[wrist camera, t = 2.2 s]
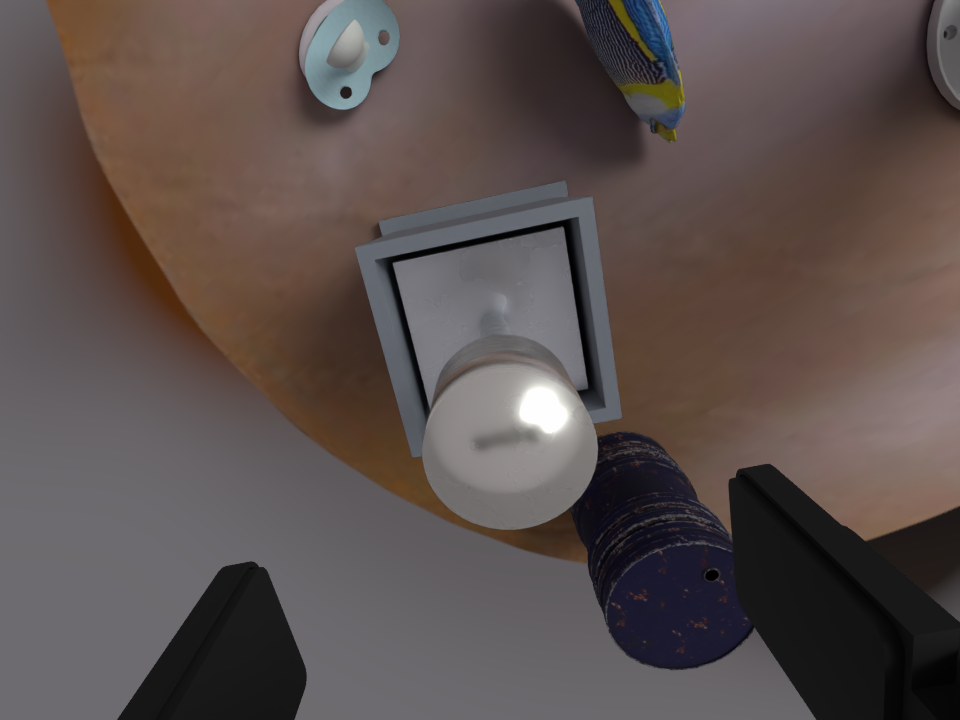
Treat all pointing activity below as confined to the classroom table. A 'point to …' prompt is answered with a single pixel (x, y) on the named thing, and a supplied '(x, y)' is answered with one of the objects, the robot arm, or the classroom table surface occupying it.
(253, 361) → the classroom table surface
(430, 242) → the press housing
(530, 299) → the plunger
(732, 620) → the dark blue cylinder
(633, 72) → the tropical fish figurine
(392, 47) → the pacifier
